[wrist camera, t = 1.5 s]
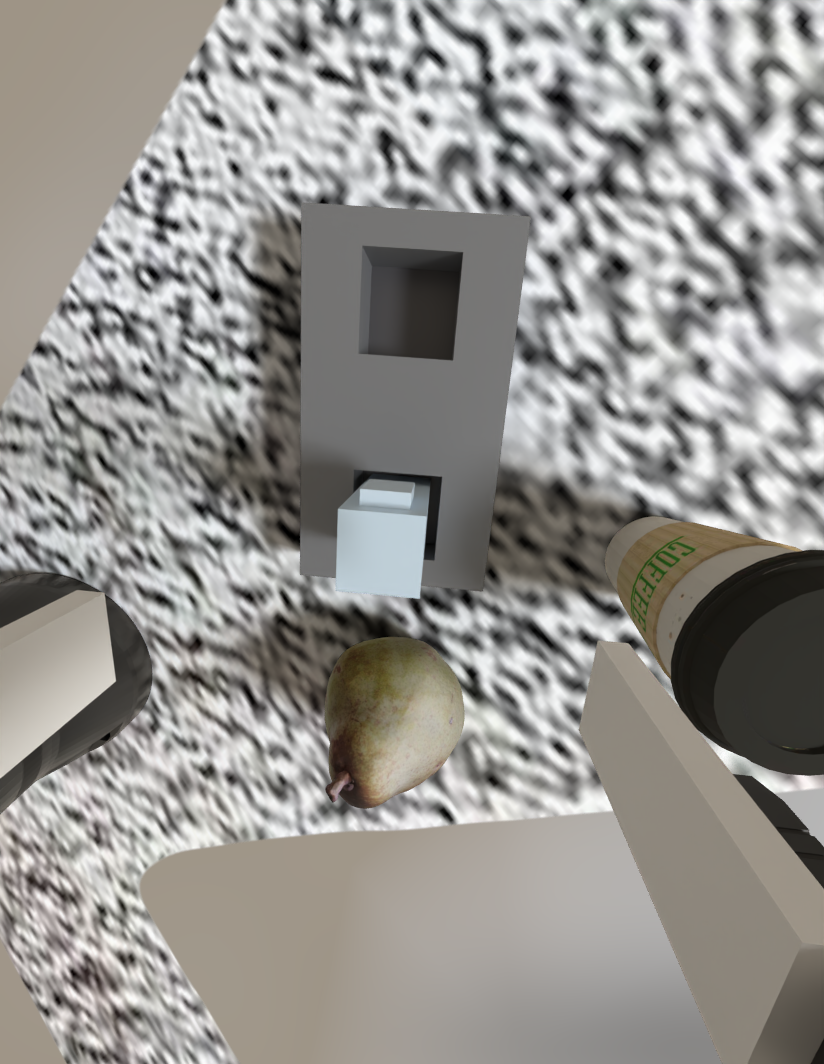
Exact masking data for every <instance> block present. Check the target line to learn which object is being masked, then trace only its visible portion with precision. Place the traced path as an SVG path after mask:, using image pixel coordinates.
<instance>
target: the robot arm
mask: <svg viewBox="0 0 824 1064" xmlns="http://www.w3.org/2000/svg"><path fill="white" fill-rule="evenodd" d="M151 685H152V665H151V660H150V655H149V652H148V649H147V646H146V644H145V642H144V640H143V637H142V636H141V634H140V632H139V630H138V629H137V627H136V626H135V624H134V623H133V622H132V620H131V619H130V618H129V617H128V615H127V614H126V613H125V612H124V611H123V610H122V609H121V608H120V607H119V606H118V605H117V604H116V603H114V602H113V601H112V600H111V599H109V598H108V597H107V596H105V593H103V592H99V591H98V590H96V589H94V588H92V587H91V586H88V585H86V584H84V583H82V582H80V581H77V580H74V579H71V578H68V577H64V576H59V575H53V574H27V575H21V576H18V577H14V578H11V579H9V580H6V581H4V582H1V583H0V814H1V813H2V812H3V811H4V810H5V809H6V808H7V807H8V806H9V805H10V804H11V803H12V802H14V801H15V800H16V799H17V798H18V797H19V796H20V795H21V794H22V793H23V792H24V791H25V790H27V789H28V788H29V787H30V786H31V785H32V784H33V783H34V782H36V781H37V780H39V779H41V778H43V777H44V776H46V775H48V774H50V773H52V772H54V771H56V770H57V769H59V768H61V767H63V766H65V765H67V764H69V763H70V762H72V761H74V760H76V759H78V758H79V757H81V756H83V755H84V754H86V753H87V752H89V751H92V750H94V749H96V748H98V747H100V746H102V745H104V744H106V743H107V742H109V741H110V740H112V739H113V738H114V737H116V736H117V735H118V734H119V733H120V732H121V731H122V730H123V729H124V728H125V727H126V726H127V725H128V724H129V723H130V722H131V721H132V720H133V719H134V718H135V717H136V716H137V715H138V714H139V713H140V711H141V710H142V708H143V707H144V705H145V703H146V702H147V699H148V697H149V694H150V690H151ZM579 731H580V734H581V736H582V738H583V741H584V743H585V745H586V748H587V750H588V752H589V755H590V757H591V759H592V762H593V764H594V766H595V769H596V771H597V773H598V776H599V778H600V780H601V783H602V785H603V787H604V790H605V792H606V794H607V797H608V799H609V801H610V804H611V806H612V808H613V811H614V813H615V815H616V818H617V820H618V822H619V825H620V827H621V829H622V831H623V834H624V836H625V838H626V841H627V843H628V846H629V848H630V850H631V853H632V855H633V857H634V860H635V862H636V864H637V866H638V869H639V871H640V874H641V876H642V878H643V881H644V883H645V885H646V887H647V890H648V892H649V894H650V897H651V899H652V902H653V904H654V906H655V909H656V911H657V913H658V916H659V918H660V920H661V923H662V925H663V927H664V929H665V931H666V934H667V937H668V939H669V941H670V943H671V946H672V948H673V951H674V953H675V955H676V958H677V959H678V962H679V965H680V967H681V969H682V971H683V974H684V976H685V978H686V981H687V983H688V985H689V988H690V990H691V992H692V995H693V997H694V999H695V1002H696V1004H697V1006H698V1009H699V1011H700V1013H701V1016H702V1018H703V1020H704V1023H705V1025H706V1027H707V1030H708V1032H709V1034H710V1037H711V1039H712V1041H713V1044H714V1046H715V1048H716V1051H717V1053H718V1055H719V1058H720V1060H721V1062H722V1064H824V847H823V846H822V844H821V843H820V842H819V841H818V840H817V839H816V838H815V837H814V836H811V835H810V834H809V830H808V828H807V827H806V826H805V825H804V824H803V823H802V822H801V820H800V819H799V818H798V817H797V816H796V815H795V813H794V812H793V811H792V810H791V809H790V808H789V807H788V805H787V804H786V803H785V802H784V801H783V800H782V799H780V798H779V797H778V796H776V795H775V794H774V793H773V792H771V791H770V790H769V789H767V788H766V787H765V786H764V785H762V784H761V783H760V782H758V781H757V780H756V779H755V778H753V777H752V776H745V775H736V774H732V773H731V772H730V771H729V769H728V768H727V767H726V766H725V764H724V763H723V762H722V761H721V759H720V758H719V757H718V755H717V754H716V753H715V752H714V750H713V749H712V748H711V747H710V745H709V744H708V743H707V742H706V740H705V739H704V738H703V737H702V735H701V734H700V733H699V732H698V730H697V729H696V728H695V727H694V725H693V724H692V723H691V722H690V720H689V719H688V718H687V717H686V715H685V714H684V713H683V712H682V710H681V709H680V708H679V707H678V705H677V704H676V703H675V701H674V700H673V699H672V698H671V696H670V695H669V694H668V693H667V691H666V690H665V689H664V688H663V686H662V685H661V684H660V683H659V681H658V680H657V679H656V678H655V676H654V675H653V674H652V673H651V671H650V670H649V669H648V668H647V666H646V665H645V664H644V663H643V661H642V660H641V659H640V658H639V656H638V655H637V654H636V652H635V651H634V650H633V649H632V647H631V646H630V645H629V644H628V643H618V642H608V641H598V643H597V648H596V653H595V657H594V662H593V667H592V671H591V676H590V681H589V685H588V690H587V695H586V699H585V704H584V709H583V713H582V718H581V723H580V727H579Z"/></svg>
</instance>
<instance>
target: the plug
mask: <svg viewBox="0 0 824 1064" xmlns="http://www.w3.org/2000/svg"><path fill="white" fill-rule="evenodd" d="M430 481H431V478H419V477H407V476H395V475H383V474H372V475H371V476H370V477H369V478H368V479H367V480H366V481H365V482H364V483H363V484H362V485H361V486H360V487H359V488H358V489H357V490H356V491H355V492H354V493H353V494H352V495H351V496H350V497H349V498H348V499H347V500H346V501H345V502H344V503H343V504H342V505H341V506H340V507H339V508H338V524H337V559H336V591H342V592H353V593H364V594H375V595H386V596H396V597H407V598H418V599H420V590H421V579H422V569H423V559H424V549H425V539H426V528H427V516H428V504H429V493H430Z"/></svg>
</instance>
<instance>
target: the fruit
mask: <svg viewBox="0 0 824 1064" xmlns="http://www.w3.org/2000/svg"><path fill="white" fill-rule="evenodd" d="M325 723H326V729H327V734H328V737H329V741H330V747H329V773H330V777H331V780H332V783H331V784H329V785H327V787H326V793H327V794H328V796H329V798H330V800H331V801H332V802H335V801H336V800H337V798H338V794H340V796H341V797H342V798H343V799H344V800H345V801H346V802H347V803H349V804H350V805H352V806H354V807H357V808H364V809H366V808H373V807H376V806H378V805H380V804H382V803H384V802H386V801H387V800H389V799H390V798H392V797H393V796H395V795H397V794H399V793H402V792H406V791H408V790H410V789H412V788H414V787H415V786H417V785H419V784H420V783H422V782H423V781H425V780H426V779H427V778H429V777H430V776H432V775H433V774H434V773H436V772H437V771H438V770H439V769H440V768H441V767H442V765H443V764H444V763H445V762H446V760H447V758H448V757H449V755H450V753H451V752H452V750H453V749H454V747H455V746H456V744H457V742H458V740H459V738H460V735H461V733H462V729H463V725H464V704H463V696H462V691H461V687H460V684H459V682H458V679H457V677H456V675H455V673H454V672H453V670H452V669H451V668H450V667H449V665H448V664H447V663H446V662H445V661H444V660H443V659H442V657H441V656H440V655H439V653H438V652H437V651H436V650H435V649H433V648H432V647H431V646H430V645H428V644H426V643H425V642H423V641H420V640H417V639H412V638H406V637H383V638H377V639H372V640H367V641H363V642H360V643H358V644H356V645H353V646H352V647H350V648H349V649H347V650H346V651H345V652H344V653H343V654H342V655H341V656H340V658H339V659H338V661H337V662H336V664H335V666H334V669H333V671H332V673H331V675H330V678H329V681H328V685H327V693H326V698H325Z"/></svg>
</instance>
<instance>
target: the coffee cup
mask: <svg viewBox="0 0 824 1064" xmlns="http://www.w3.org/2000/svg"><path fill="white" fill-rule="evenodd" d="M605 570H606V573H607V576H608V578H609V580H610V582H611V583H612V585H613V586H614V588H615V590H616V591H617V593H618V594H619V598H620V600H621V602H622V604H623V606H624V608H625V609H626V611H627V613H628V614H629V616H630V618H631V619H632V621H633V623H634V624H635V626H636V627H637V629H638V631H639V632H640V634H641V636H642V637H643V639H644V640H645V642H646V644H647V645H648V647H649V649H650V650H651V652H652V653H653V655H654V657H655V658H656V660H657V662H658V663H659V665H660V666H661V668H662V670H663V671H664V673H665V674H666V675H667V676H668V677H669V678H670V679H671V683H672V687H673V691H674V695H675V699H676V701H677V703H678V705H679V707H680V708H681V710H682V712H683V713H684V714H685V715H686V717H687V718H688V719H689V720H690V722H691V723H692V724H693V725H694V727H695V728H696V729H697V730H698V731H700V732H701V733H703V734H704V735H705V736H706V737H708V738H709V739H710V740H712V741H713V742H715V743H716V744H717V745H719V746H720V747H722V748H724V749H726V750H728V751H731V752H733V753H735V754H737V755H740V756H742V757H745V758H747V759H748V760H750V761H751V762H753V763H755V764H758V765H760V766H762V767H764V768H767V769H769V770H773V771H777V772H781V773H786V774H793V775H807V776H811V775H823V774H824V550H806V551H802V550H800V549H798V548H796V547H792V546H788V545H784V544H780V543H776V542H772V541H768V540H763V539H759V538H755V537H751V536H747V535H743V534H738V533H734V532H730V531H726V530H722V529H718V528H714V527H709V526H705V525H701V524H697V523H690V522H681V521H677V520H673V519H669V518H665V517H657V516H651V517H644V518H641V519H638V520H635V521H633V522H631V523H629V524H627V525H626V526H624V527H623V528H622V529H621V530H619V531H618V533H617V534H616V535H615V536H614V537H613V539H612V540H611V542H610V543H609V545H608V548H607V551H606V555H605Z"/></svg>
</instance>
